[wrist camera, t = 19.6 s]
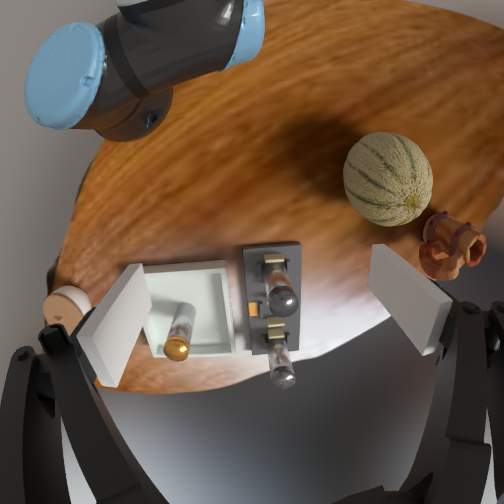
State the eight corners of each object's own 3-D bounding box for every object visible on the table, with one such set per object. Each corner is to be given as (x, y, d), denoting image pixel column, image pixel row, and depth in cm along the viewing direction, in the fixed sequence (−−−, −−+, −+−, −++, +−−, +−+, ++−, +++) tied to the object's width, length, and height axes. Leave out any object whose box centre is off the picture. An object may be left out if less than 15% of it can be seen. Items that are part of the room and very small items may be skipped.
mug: (443, 201, 47) (492, 221, 33) (450, 233, 49) (494, 259, 35) (394, 232, 49) (439, 263, 35) (403, 265, 51) (444, 300, 37)
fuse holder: (251, 350, 57) (252, 363, 53) (242, 246, 48) (243, 255, 44) (297, 345, 57) (300, 358, 53) (299, 242, 48) (304, 250, 45)
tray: (157, 346, 55) (153, 357, 52) (133, 266, 48) (127, 274, 45) (236, 344, 56) (236, 355, 53) (225, 259, 49) (225, 267, 45)
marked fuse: (178, 320, 52) (166, 361, 41) (174, 302, 51) (160, 342, 39) (198, 319, 52) (190, 361, 41) (194, 301, 51) (185, 342, 39)
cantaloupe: (371, 117, 40) (420, 110, 26) (412, 179, 45) (464, 195, 31) (312, 168, 44) (347, 178, 30) (361, 229, 48) (403, 261, 34)
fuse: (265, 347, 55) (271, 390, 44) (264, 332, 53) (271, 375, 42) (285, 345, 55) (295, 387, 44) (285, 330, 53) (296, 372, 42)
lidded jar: (93, 327, 53) (77, 352, 44) (57, 304, 51) (37, 326, 42) (103, 293, 50) (84, 318, 41) (63, 268, 48) (40, 289, 39)
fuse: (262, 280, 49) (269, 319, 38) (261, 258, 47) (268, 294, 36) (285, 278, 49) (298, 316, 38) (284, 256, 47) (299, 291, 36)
